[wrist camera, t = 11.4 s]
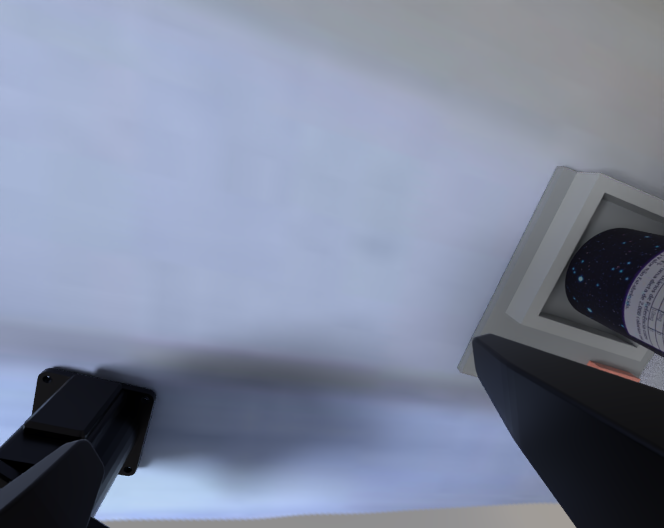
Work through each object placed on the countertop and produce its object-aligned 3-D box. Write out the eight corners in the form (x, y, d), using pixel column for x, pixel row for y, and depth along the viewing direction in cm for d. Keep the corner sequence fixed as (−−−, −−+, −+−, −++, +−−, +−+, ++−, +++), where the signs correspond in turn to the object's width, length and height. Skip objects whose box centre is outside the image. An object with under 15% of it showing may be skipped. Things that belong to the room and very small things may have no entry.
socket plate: (607, 408, 26) (635, 430, 24) (457, 367, 24) (473, 387, 22) (718, 235, 23) (761, 242, 21) (557, 166, 20) (587, 167, 18)
